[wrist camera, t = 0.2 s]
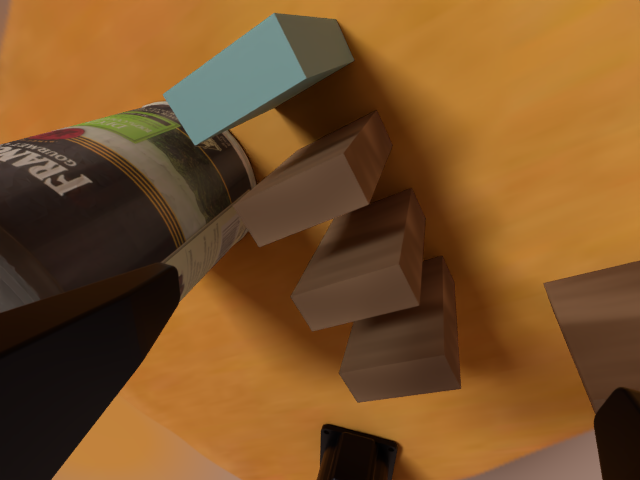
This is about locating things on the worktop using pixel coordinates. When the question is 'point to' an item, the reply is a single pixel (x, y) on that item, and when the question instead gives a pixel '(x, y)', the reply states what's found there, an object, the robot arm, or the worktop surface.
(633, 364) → the domino
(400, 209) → the domino
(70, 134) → the coffee can
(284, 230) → the domino
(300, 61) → the domino
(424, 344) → the domino
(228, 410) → the worktop surface
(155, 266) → the robot arm
